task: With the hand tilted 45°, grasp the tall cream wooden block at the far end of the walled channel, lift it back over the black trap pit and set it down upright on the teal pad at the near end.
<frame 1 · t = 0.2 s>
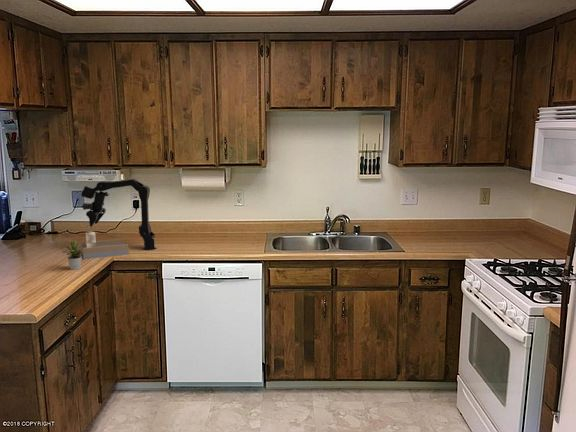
hand: (93, 225, 303), 15 cm above the counter, tool tilted 15°, fingers open, 9 cm apart
house plant: (73, 268, 264), on the counter
block: (91, 249, 292), point 3 cm above the counter, touching channel
channel: (104, 253, 296), on the counter
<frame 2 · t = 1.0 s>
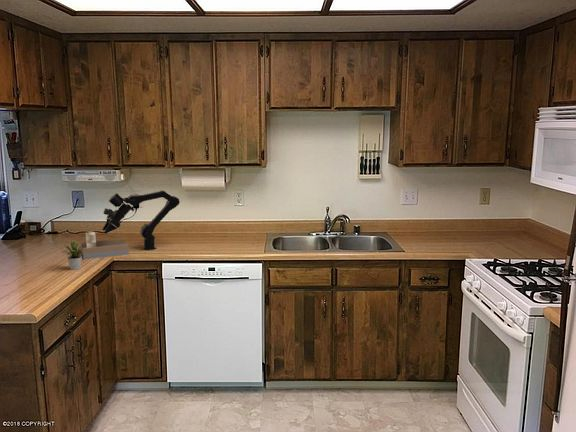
hand: (103, 231, 294), 13 cm above the counter, tool tilted 45°, fingers open, 9 cm apart
nothing on the counter moved.
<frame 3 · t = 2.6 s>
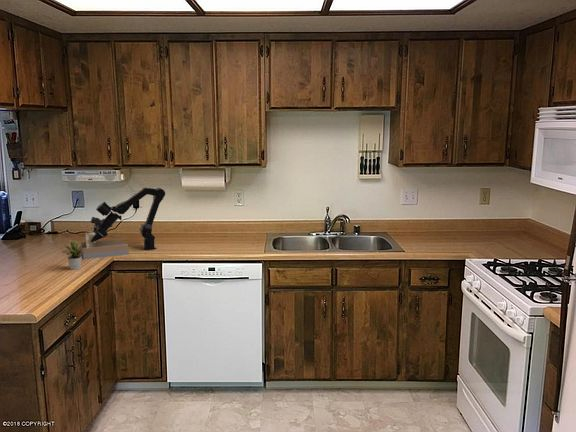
hand: (90, 240, 291), 9 cm above the counter, tool tilted 45°, fingers open, 9 cm apart
nothing on the counter moved.
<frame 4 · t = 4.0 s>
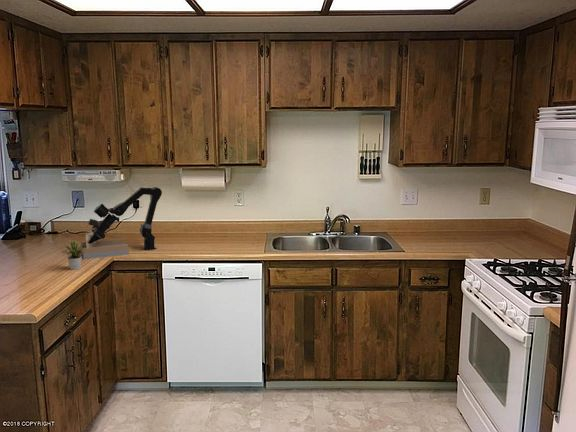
hand: (88, 242, 291), 8 cm above the counter, tool tilted 45°, fingers closed on block, 5 cm apart
block: (91, 249, 292), point 3 cm above the counter, touching channel, gripper
everything else where it was.
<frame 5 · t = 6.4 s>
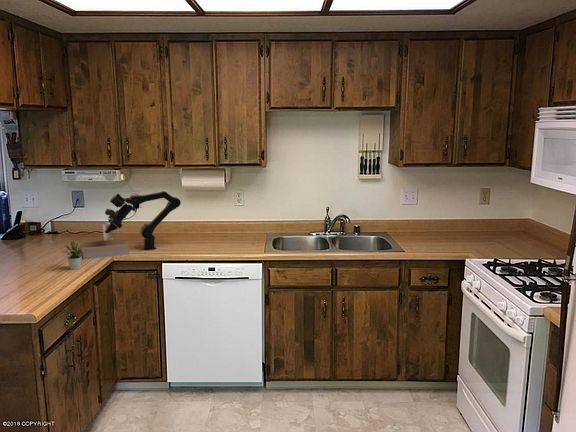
hand: (105, 231, 294), 13 cm above the counter, tool tilted 45°, fingers closed on block, 5 cm apart
block: (108, 239, 295), point 8 cm above the counter, touching gripper
everything else where it was.
when the fingers open (9 cm above the counter, at t = 8.7 s): block drops 1 cm, resting on channel.
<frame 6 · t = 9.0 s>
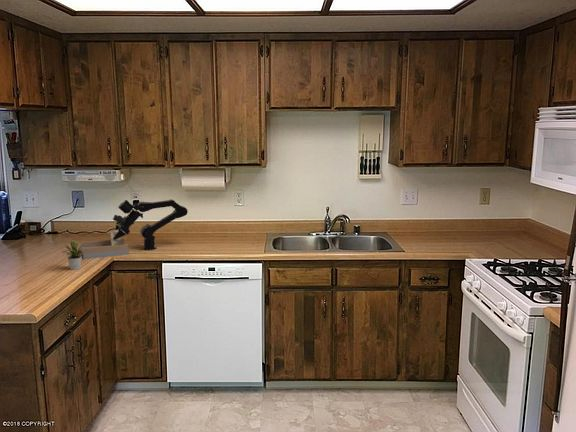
hand: (113, 237, 297), 9 cm above the counter, tool tilted 45°, fingers open, 8 cm apart
block: (115, 246, 298), point 3 cm above the counter, touching channel
everything else where it was.
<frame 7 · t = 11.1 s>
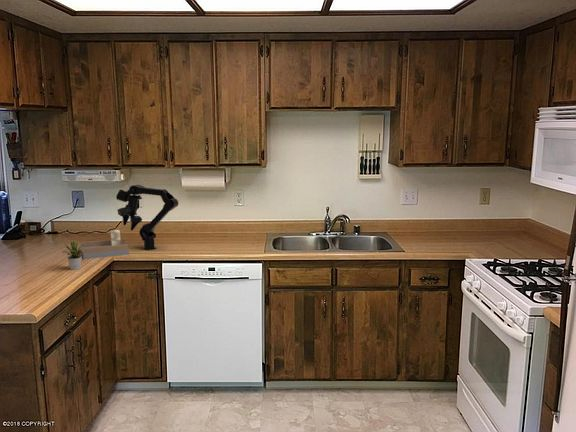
hand: (127, 227, 308), 13 cm above the counter, tool pointing down, fingers open, 9 cm apart
nothing on the counter moved.
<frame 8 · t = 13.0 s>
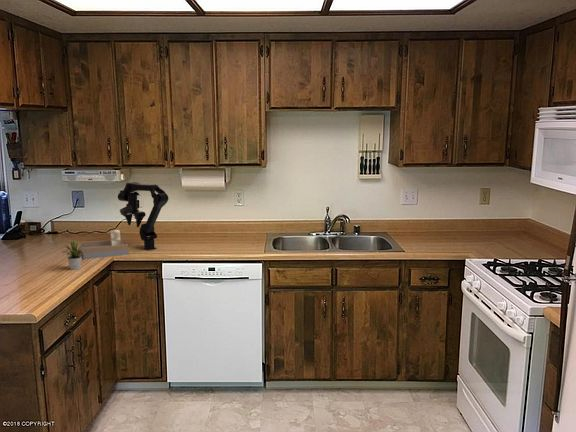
hand: (133, 226, 312), 13 cm above the counter, tool pointing down, fingers open, 9 cm apart
nothing on the counter moved.
at the end: block inside the target area on the channel (0.0 cm from its centre), point 3.2 cm above the channel's base; block tilted 0°; the gripper is holding nothing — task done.
